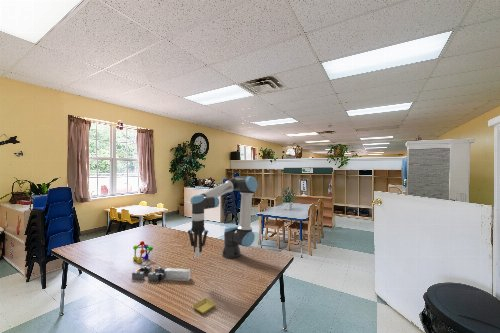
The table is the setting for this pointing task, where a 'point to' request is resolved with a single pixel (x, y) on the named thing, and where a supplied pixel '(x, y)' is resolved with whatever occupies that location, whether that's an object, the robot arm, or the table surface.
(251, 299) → the table surface
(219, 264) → the table surface
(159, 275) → the dark grey blocks
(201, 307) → the yellow tray
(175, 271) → the link bar
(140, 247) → the educational toy
